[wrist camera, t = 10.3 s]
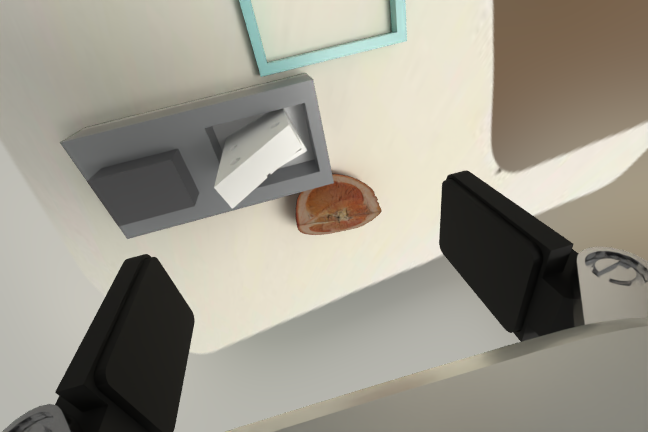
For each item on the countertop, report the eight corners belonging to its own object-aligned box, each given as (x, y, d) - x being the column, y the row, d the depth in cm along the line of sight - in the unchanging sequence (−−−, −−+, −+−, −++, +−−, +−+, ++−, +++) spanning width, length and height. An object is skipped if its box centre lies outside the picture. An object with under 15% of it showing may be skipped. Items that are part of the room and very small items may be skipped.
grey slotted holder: (85, 127, 25) (40, 153, 20) (305, 72, 27) (318, 84, 21) (141, 215, 30) (117, 255, 25) (325, 166, 32) (340, 195, 26)
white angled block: (180, 174, 25) (213, 187, 19) (266, 106, 29) (321, 97, 22) (209, 205, 27) (249, 228, 21) (286, 139, 31) (342, 139, 24)
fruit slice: (367, 164, 32) (384, 184, 28) (365, 218, 36) (380, 242, 32) (289, 173, 31) (294, 196, 27) (294, 228, 35) (300, 255, 31)
